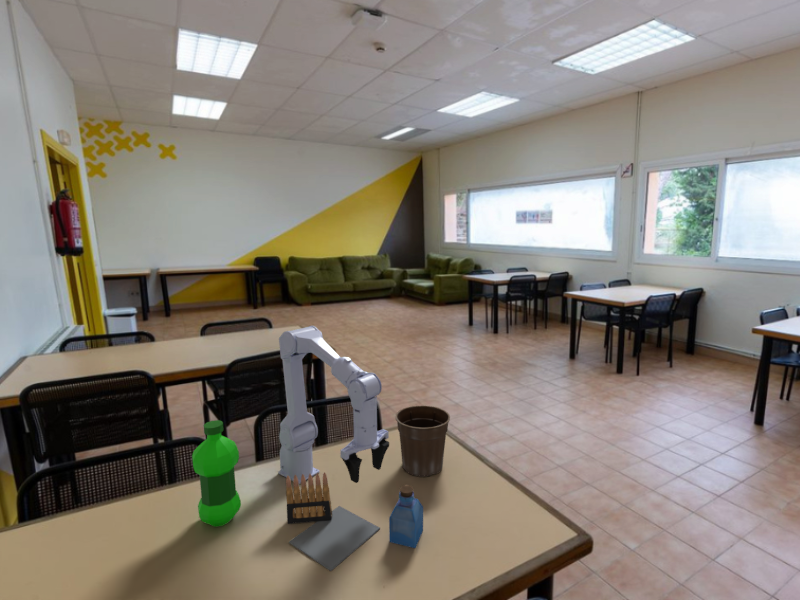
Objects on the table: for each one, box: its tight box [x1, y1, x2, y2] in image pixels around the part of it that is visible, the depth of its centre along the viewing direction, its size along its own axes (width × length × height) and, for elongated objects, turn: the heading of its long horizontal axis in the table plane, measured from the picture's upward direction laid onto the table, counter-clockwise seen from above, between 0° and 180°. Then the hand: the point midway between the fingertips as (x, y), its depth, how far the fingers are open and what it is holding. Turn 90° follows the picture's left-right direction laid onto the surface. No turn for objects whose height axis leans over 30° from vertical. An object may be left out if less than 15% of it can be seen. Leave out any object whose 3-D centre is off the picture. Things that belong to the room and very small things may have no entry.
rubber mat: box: [288, 505, 381, 572], centre depth 100 cm, size 14×16×1 cm
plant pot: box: [394, 405, 451, 478], centre depth 128 cm, size 16×16×16 cm
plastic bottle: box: [191, 419, 242, 528], centre depth 104 cm, size 10×10×25 cm
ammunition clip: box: [285, 472, 333, 525], centre depth 104 cm, size 11×2×12 cm, turn 93°
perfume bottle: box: [388, 484, 424, 549], centre depth 99 cm, size 6×6×12 cm
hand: (366, 474), depth 107 cm, fingers open, 7 cm apart
